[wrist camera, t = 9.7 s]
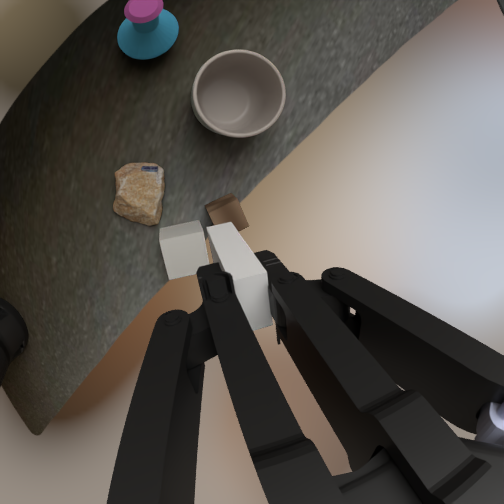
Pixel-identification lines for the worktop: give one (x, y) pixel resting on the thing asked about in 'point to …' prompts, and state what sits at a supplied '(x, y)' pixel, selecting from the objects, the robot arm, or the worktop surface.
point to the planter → (238, 94)
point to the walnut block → (227, 212)
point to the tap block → (183, 249)
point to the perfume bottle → (147, 29)
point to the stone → (140, 192)
